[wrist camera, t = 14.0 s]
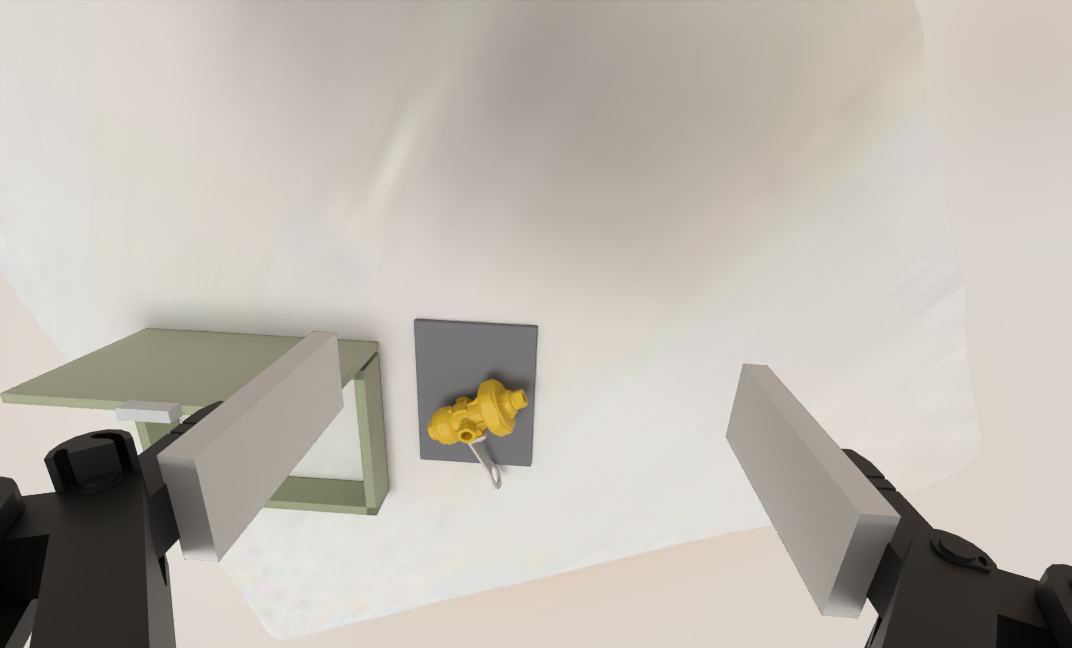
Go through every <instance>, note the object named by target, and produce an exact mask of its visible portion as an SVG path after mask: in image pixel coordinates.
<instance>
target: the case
mask: <svg viewBox="0 0 1072 648" xmlns="http://www.w3.org/2000/svg"><path fill="white" fill-rule="evenodd" d="M303 339H304V337H287V336H270V335H253V334H236V333H219V332H203V331H186V330H169V329H152V328H146V329H144V330H141V331H139V332H137V333H135V334H132V335H130V336H128V337H126V338H123V339H121V340H119V341H117V342H114V343H112V344H110V345H108V346H105V347H103V348H101V349H99V350H96V351H94V352H92V353H90V354H87V355H85V356H83V357H81V358H78V359H76V360H74V361H72V362H69V363H67V364H65V365H63V366H61V367H58V368H56V369H54V370H52V371H49V372H47V373H45V374H42V375H40V376H38V377H36V378H33V379H31V380H29V381H27V382H25V383H22V384H20V385H18V386H16V387H13V388H11V389H9V390H7V391H4V392H2V393H0V396H1V398H2V401H3V403H13V404H29V405H45V406H59V407H74V408H75V407H76V408H90V409H105V410H115V411H116V415H117V418H118V420H126V421H135V423H136V427H137V430H138V434H139V438H140V441H141V445H142V448H143V451H145V450H146V449H147V448H149V447H150V446H151V445H153V444H154V443H155V442H157V441H158V440H159V439H161V438H162V437H163V436H165V435H166V434H170V431H171V430H172V429H174V428H175V427H176V426H178V425H179V421H178V418H179V417H181V416H182V415H192V414H194V413H195V412H196V411H198V410H199V409H202V408H204V407H206V406H208V405H210V404H213V403H215V402H217V401H226V400H227V399H228V398H230V397H231V396H232V395H234V394H235V393H236V392H237V391H239V390H240V389H241V388H242V387H244V386H245V385H246V384H247V383H249V382H250V381H251V380H252V379H254V378H255V377H256V376H258V375H259V374H260V373H261V372H263V371H264V370H265V369H266V368H268V367H269V366H270V365H271V364H273V363H274V362H275V361H276V360H278V359H279V358H280V357H281V356H283V355H284V354H285V353H287V352H288V351H289V350H290V349H292V348H293V347H294V346H295V345H297V344H298V343H299V342H300V341H302V340H303ZM337 343H338V353H339V364H340V374H341V385H342V389H343V388H344V387H345V386H346V384H347V383H348V382H349V381H350V380H354V385H355V396H356V406H357V416H358V426H359V437H360V447H361V457H362V467H363V478H364V482H362V481H348V480H334V479H319V478H305V477H290V476H287V478H286V479H285V480H284V481H283V483H282V484H281V485H280V486H279V488H278V489H277V490H276V491H275V493H274V494H273V495H272V496H271V498H270V499H269V500H268V501H267V503H266V504H265V505H264V506H263V507H264V508H278V509H292V510H306V511H320V512H334V513H348V514H361V515H375V516H376V515H377V513H378V511H379V509H380V508H381V506H382V504H383V502H384V500H385V498H386V496H387V494H388V492H389V484H388V471H387V458H386V445H385V432H384V419H383V406H382V393H381V380H380V367H379V354H375V352H376V351H377V350H378V342H371V341H354V340H338V339H337Z"/></svg>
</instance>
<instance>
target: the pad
mask: <svg viewBox="0 0 1072 648" xmlns="http://www.w3.org/2000/svg"><path fill="white" fill-rule="evenodd" d="M414 332H415V353H416V374H417V395H418V416H419V436H420V457H421V459H426V460H441V461H456V462H470V463H481V462H480V461H479V460H478V458H477V457H476V455H475V454H474V452H473V451H472V449H471V448H470V446H469V445H468V443H463V442H461V441H460V440H459V441H458V442H456V443H453V444H450V445H449V444H442V443H441V442H439V440H433V439H432V438H431V437H430V435H429V433H428V428H427V426H428V423H429V421H432V415H433V414H434V413H435V412H436V411H437V410H438V409H439V408H442V407H445V406H452V407H453V406H454V405H455V404H456V400H457V399H458V398H460V397H463V396H466V397H468V398H470V399H471V400H472V401H474V400H475V399H476V398H477V393H478V389H479V387H480V384H481V383H482V382H485V381H487V380H490V379H494V380H496V381H499V382H500V383H501V384H502V385H503V386H504V387H505V389H506V390H510V391H511V392H513V391H516V390H519V389H522V390H523V391H524V393H525V395H526V398H527V402H528V405H527V406H526V407H524V408H521V409H518V412H517V414H515V427H514V428H513V432H512V433H510V434H507V435H504V436H502V437H500V436H498V435H495V434H493V433H492V432H491V431H490V430H489V429H488V435H487V438H486V439H484V440H483V441H482V442H479V444H480V446H481V447H482V449H483V450H484V452H485V453H486V455H487V456H488V458H489V459H490V460H491V461H493V462H494V463H495V464H500V465H515V466H529V467H531V452H532V430H533V408H534V386H535V364H536V341H537V326H530V325H513V324H495V323H478V322H460V321H443V320H425V319H415V320H414Z"/></svg>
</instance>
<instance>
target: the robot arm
mask: <svg viewBox="0 0 1072 648" xmlns="http://www.w3.org/2000/svg"><path fill="white" fill-rule="evenodd" d="M343 407H344V406H343V395H342V385H341V374H340V364H339V353H338V343H337V333H330V332H317V331H313V332H312V333H311V334H309V335H308V336H307V337H305V338H304V339H303V340H302V341H300V342H299V343H298V344H297V345H295V346H294V347H293V348H292V349H290V350H289V351H288V352H287V353H285V354H284V355H283V356H281V357H280V358H279V359H278V360H276V361H275V362H274V363H273V364H271V365H270V366H269V367H268V368H266V369H265V370H264V371H263V372H261V373H260V374H259V375H258V376H256V377H255V378H254V379H252V380H251V381H250V382H249V383H247V384H246V385H245V386H244V387H242V388H241V389H240V390H239V391H237V392H236V393H235V394H234V395H232V396H231V397H230V398H228V399H227V400H226V401H217V402H215V403H213V404H210V405H208V406H206V407H204V408H202V409H199V410H198V411H196V412H195V413H194V414H192V415H191V416H190V417H188V418H187V419H186V420H184V421H183V423H182V424H179V425H178V426H176V427H175V428H174V429H172V430H171V431H170V434H166V435H165V436H163V437H162V438H161V439H159V440H158V441H157V442H155V443H154V444H153V445H151V446H150V447H149V448H147V449H146V450H145V451H143V452H142V453H141V454H139V455H137V451H136V448H135V444H134V441H133V437H132V436H131V434H130V433H129V432H127V431H123V430H111V429H107V430H101V431H95V432H90V433H87V434H84V435H80V436H77V437H74V438H72V439H70V440H68V441H65V442H63V443H61V444H59V445H58V446H56V447H55V448H54V449H52V450H51V451H49V453H48V454H47V455H46V457H45V459H44V461H45V464H46V467H47V469H48V472H49V475H50V478H51V480H52V483H53V485H54V488H55V491H56V492H52V493H43V494H36V495H27V496H21V493H20V491H19V488H18V486H17V484H16V482H15V481H14V480H13V479H12V478H7V477H0V648H23V647H24V645H25V643H26V642H27V640H28V638H29V636H30V634H31V632H32V635H31V641H30V647H29V648H176V642H175V632H174V631H175V630H174V620H173V609H172V598H171V587H170V576H169V566H168V561H167V558H166V554H165V553H166V552H167V551H168V549H170V547H171V546H172V545H173V544H174V543H175V542H176V541H177V540H178V539H179V541H180V545H181V549H182V552H183V557H184V559H185V560H195V561H208V562H219V561H220V560H221V559H222V557H223V556H224V555H225V554H226V552H227V551H228V550H229V549H230V547H231V546H232V545H233V544H234V542H235V541H236V540H237V539H238V537H239V536H240V535H241V534H242V532H243V531H244V530H245V529H246V528H247V526H248V525H249V524H250V523H251V521H252V520H253V519H254V518H255V516H256V515H257V514H258V513H259V511H260V510H261V509H262V508H263V506H264V505H265V504H266V503H267V501H268V500H269V499H270V498H271V496H272V495H273V494H274V493H275V491H276V490H277V489H278V488H279V486H280V485H281V484H282V483H283V481H284V480H285V479H286V478H287V476H288V475H289V474H290V473H291V471H292V470H293V469H294V468H295V466H296V465H297V464H298V463H299V461H300V460H301V459H302V458H303V456H304V455H305V454H306V453H307V452H308V450H309V449H310V448H311V447H312V445H313V444H314V443H315V442H316V440H317V439H318V438H319V437H320V435H321V434H322V433H323V432H324V430H325V429H326V428H327V427H328V425H329V424H330V423H331V422H332V420H333V419H334V418H335V417H336V415H337V414H338V413H339V412H340V410H341V409H342V408H343ZM726 438H727V440H728V442H729V444H730V446H731V448H732V450H733V451H734V453H735V455H736V457H737V459H738V461H739V463H740V464H741V466H742V468H743V470H744V472H745V474H746V476H747V477H748V479H749V481H750V483H751V485H752V487H753V489H754V490H755V492H756V494H757V496H758V498H759V500H760V501H761V503H762V505H763V507H764V509H765V511H766V513H767V514H768V516H769V518H770V520H771V522H772V524H773V526H774V527H775V529H776V531H777V533H778V535H779V537H780V539H781V540H782V542H783V544H784V546H785V547H786V550H787V552H788V553H789V555H790V557H791V559H792V561H793V563H794V564H795V566H796V568H797V570H798V572H799V574H800V576H801V578H802V579H803V581H804V583H805V585H806V587H807V589H808V591H809V592H810V594H811V596H812V598H813V600H814V602H815V603H816V605H817V607H818V609H819V611H820V613H821V615H823V616H833V617H845V618H857V619H858V618H859V616H860V613H861V611H862V609H863V606H864V604H865V601H866V599H867V597H868V598H869V600H870V602H871V603H872V605H873V607H874V608H875V610H876V611H877V613H878V614H879V615H878V618H877V620H876V622H875V624H874V627H873V629H872V631H871V634H870V636H869V638H868V641H867V643H866V645H865V647H864V648H1072V566H1069V565H1065V564H1056V565H1055V564H1053V565H1051V566H1050V567H1048V568H1047V569H1046V571H1045V572H1044V574H1043V576H1042V577H1041V579H1040V581H1038V580H1034V579H1031V578H1028V577H1024V576H1020V575H1017V574H1014V573H1010V572H1007V571H1003V570H1000V569H998V568H997V565H996V564H995V563H994V562H993V560H992V559H991V558H990V557H989V556H988V555H987V554H986V553H985V552H983V551H982V550H981V549H979V548H978V547H977V546H975V545H974V544H973V543H971V542H969V541H967V540H965V539H963V538H961V537H959V536H957V535H955V534H952V533H949V532H946V531H943V530H938V529H933V528H932V527H931V525H929V523H928V522H927V521H926V520H925V519H924V518H923V517H922V516H921V515H920V514H919V513H918V512H917V511H916V510H915V508H914V507H913V506H912V505H911V504H910V503H909V502H908V501H907V500H906V499H905V498H904V497H903V496H902V495H901V494H900V492H897V491H896V488H895V487H894V486H893V485H892V484H891V483H890V482H889V481H888V480H886V479H885V477H884V475H883V474H882V473H881V472H880V471H879V470H878V469H877V468H876V467H875V466H874V465H873V464H872V463H871V462H870V461H868V460H867V459H865V458H864V457H862V456H861V455H859V454H858V453H856V452H855V451H853V450H851V449H841V448H840V447H839V446H838V445H837V444H836V443H835V442H834V440H833V439H832V438H831V437H830V436H829V435H828V434H827V432H826V431H825V430H824V429H823V428H822V427H821V426H820V425H819V423H818V422H817V421H816V420H815V419H814V418H813V417H812V416H811V414H810V413H809V412H808V411H807V410H806V409H805V408H804V406H803V405H802V404H801V403H800V402H799V401H798V400H797V399H796V397H795V396H794V395H793V394H792V393H791V392H790V391H789V390H788V388H787V387H786V386H785V385H784V384H783V383H782V382H781V380H780V379H779V378H778V377H777V376H776V375H775V374H774V373H773V371H772V370H771V369H770V368H769V367H768V366H767V365H755V364H743V365H742V370H741V374H740V378H739V382H738V387H737V391H736V395H735V399H734V404H733V408H732V412H731V416H730V421H729V425H728V429H727V433H726Z"/></svg>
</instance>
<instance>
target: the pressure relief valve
mask: <svg viewBox="0 0 1072 648" xmlns="http://www.w3.org/2000/svg"><path fill="white" fill-rule="evenodd" d="M527 405H528V402H527V398H526V395H525V393H524V391H523V390H522V389H519V390H516V391H513V392H511V391H510V390H506V389H505V387H504V386H503V385H502V384H501V383H500V382H499V381H496V380H494V379H490V380H487V381H485V382H482V383H481V384H480V387H479V389H478V393H477V398H476V399H475V400H474V401H472V400H471V399H470V398H468V397H466V396H463V397H460V398H458V399H457V400H456V404H455V405H454V406H453V407H452V406H445V407H442V408H439V409H438V410H437V411H436V412H435V413H434V414H433V415H432V421H429V423H428V426H427V428H428V433H429V435H430V437H431V438H432V439H433V440H439V442H441V443H442V444H449V445H450V444H453V443H456V442H458V441H459V440H460V441H461V442H463V443H468V445H469V446H470V448H471V449H472V451H473V452H474V454H475V455H476V457H477V458H478V460H479V461H480V462H481V464H482V465H483V467H484V468H485V470H486V471H487V473H488V476H489V478H490V481H491V483H492V485H493V487H494V488H495V489H499V488H500V487H501V476H500V472H499V469H498V467H497V465H496V464H495V463H494V462H493V461H491V460H490V459H489V458H488V456H487V455H486V453H485V452H484V450H483V449H482V447H481V446H480V444H479V442H482V441H483V440H484V439H486V438H487V435H488V429H489V430H490V431H491V432H492V433H493V434H495V435H498V436H500V437H502V436H504V435H507V434H510V433H512V432H513V428H514V427H515V414H517V412H518V409H521V408H524V407H526V406H527ZM492 467H493V468H494V470H495V472H496V475H497V483H496V482H495V480H494V478H493V475H492Z"/></svg>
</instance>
